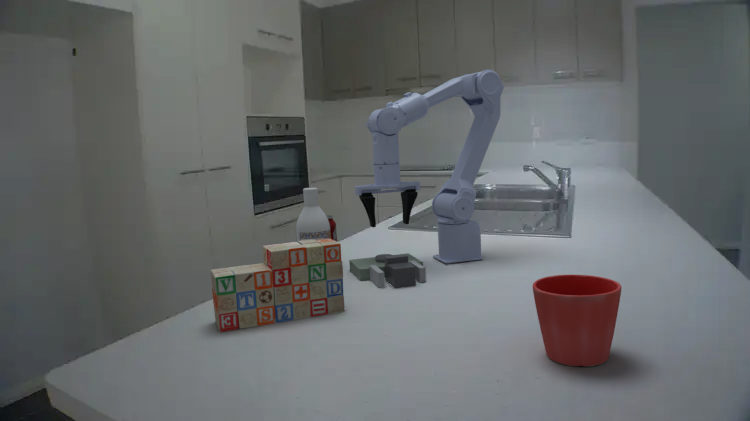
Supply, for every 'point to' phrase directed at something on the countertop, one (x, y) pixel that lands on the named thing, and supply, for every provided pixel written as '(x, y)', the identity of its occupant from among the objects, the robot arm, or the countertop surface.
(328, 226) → the bath foam
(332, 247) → the stack of blocks
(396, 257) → the grey block with ledge
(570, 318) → the flower pot
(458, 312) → the countertop surface
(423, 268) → the forked grey-green block
